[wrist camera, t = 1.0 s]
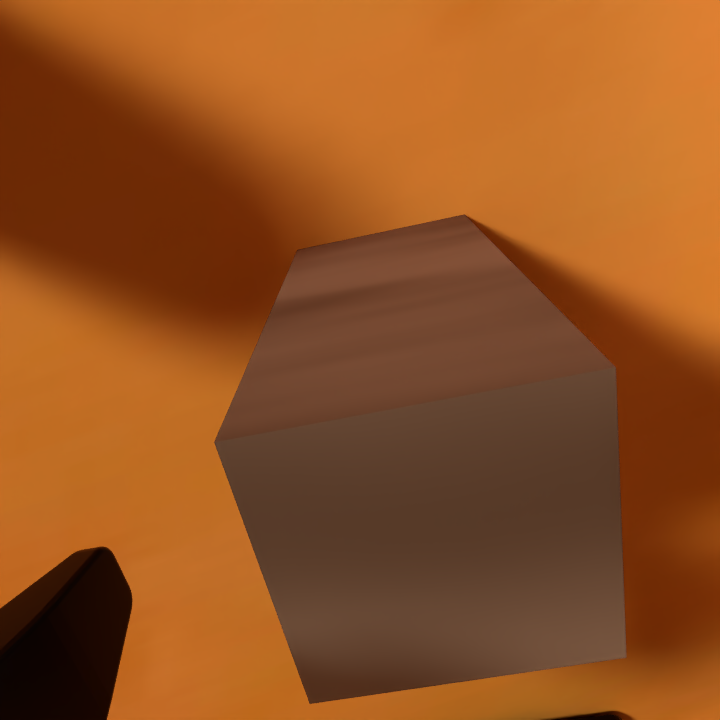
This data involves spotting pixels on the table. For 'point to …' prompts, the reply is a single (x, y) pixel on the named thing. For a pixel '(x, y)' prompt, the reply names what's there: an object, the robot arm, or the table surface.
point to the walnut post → (428, 468)
